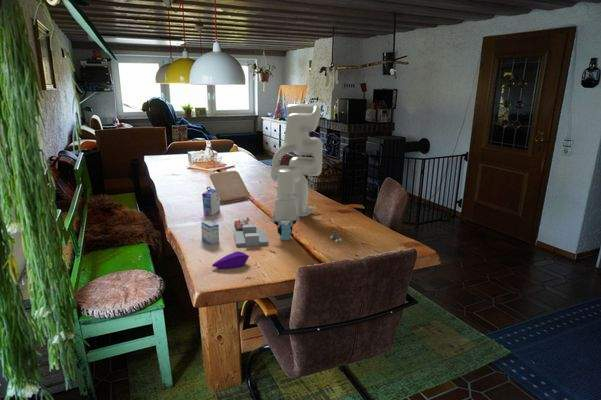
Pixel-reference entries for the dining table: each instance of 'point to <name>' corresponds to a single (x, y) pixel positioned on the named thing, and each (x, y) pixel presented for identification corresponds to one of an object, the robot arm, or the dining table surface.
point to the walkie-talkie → (241, 224)
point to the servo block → (285, 230)
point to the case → (229, 186)
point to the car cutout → (335, 236)
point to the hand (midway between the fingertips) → (284, 233)
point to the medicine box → (210, 232)
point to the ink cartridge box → (211, 201)
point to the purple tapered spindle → (232, 260)
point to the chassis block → (250, 236)
